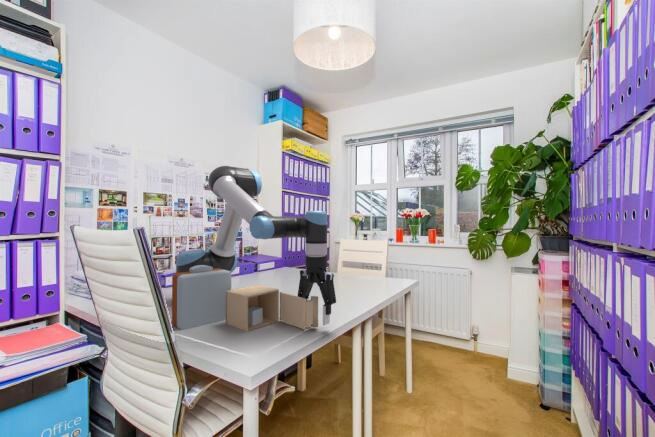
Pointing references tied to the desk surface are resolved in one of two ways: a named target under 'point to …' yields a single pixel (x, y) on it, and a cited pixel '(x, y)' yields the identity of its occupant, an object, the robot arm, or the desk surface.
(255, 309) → the contents block
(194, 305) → the grey rounded slab
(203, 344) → the desk surface
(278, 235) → the robot arm
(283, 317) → the flap
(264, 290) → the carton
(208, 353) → the desk surface
